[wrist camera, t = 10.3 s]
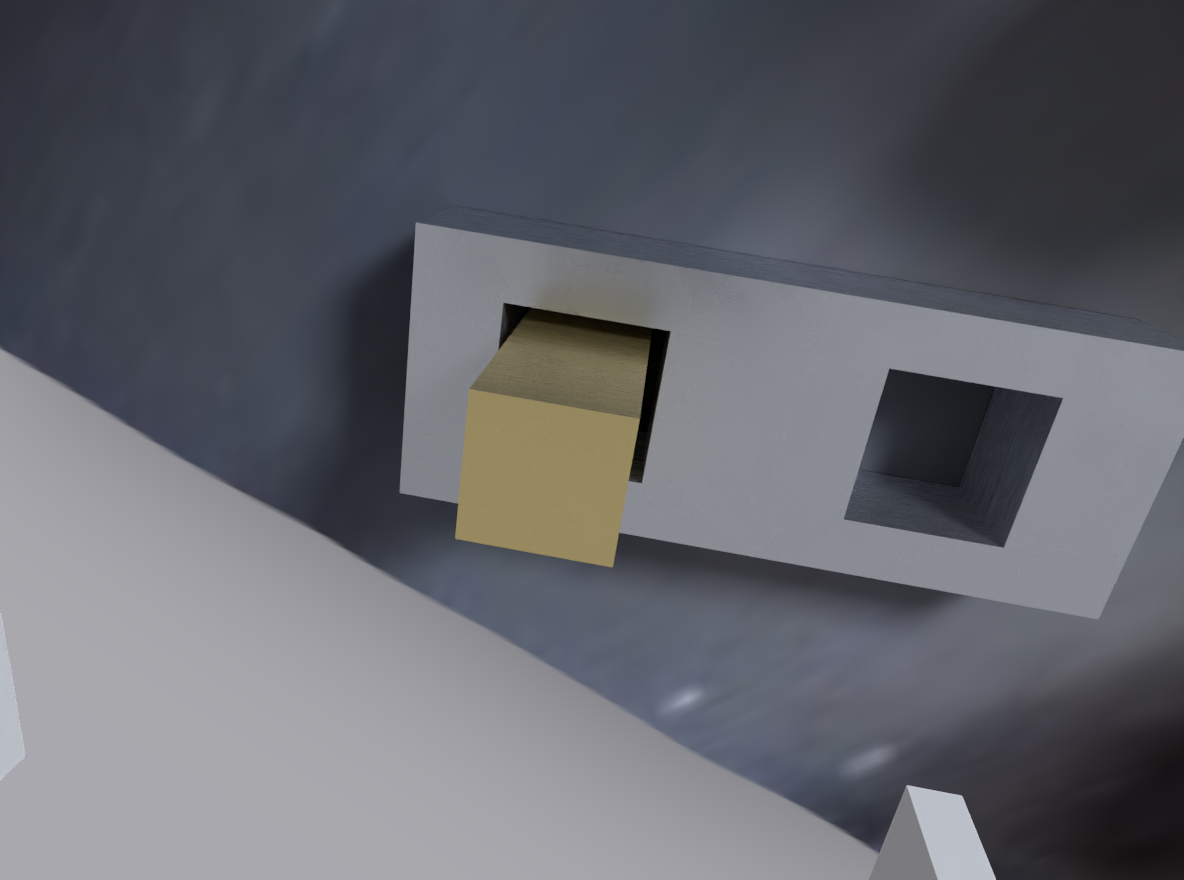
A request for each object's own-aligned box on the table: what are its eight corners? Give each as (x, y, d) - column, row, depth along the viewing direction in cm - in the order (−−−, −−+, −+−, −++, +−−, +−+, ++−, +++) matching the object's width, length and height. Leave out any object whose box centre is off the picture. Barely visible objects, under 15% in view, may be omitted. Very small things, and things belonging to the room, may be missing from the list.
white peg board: (455, 206, 31) (415, 222, 27) (1138, 319, 30) (1221, 357, 26) (436, 442, 35) (399, 493, 30) (1041, 550, 34) (1098, 619, 29)
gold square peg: (542, 293, 32) (469, 388, 21) (654, 312, 32) (640, 418, 21) (529, 399, 34) (455, 538, 23) (635, 417, 34) (612, 567, 23)
